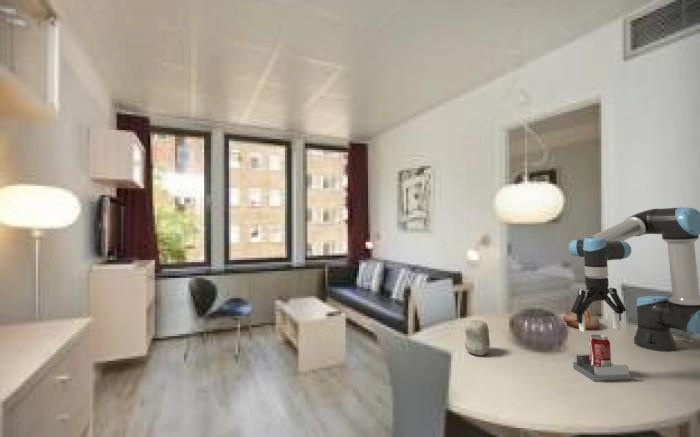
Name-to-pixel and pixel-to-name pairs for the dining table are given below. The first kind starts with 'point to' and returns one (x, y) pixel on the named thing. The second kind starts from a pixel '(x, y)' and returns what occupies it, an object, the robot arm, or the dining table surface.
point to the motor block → (600, 370)
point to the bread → (590, 320)
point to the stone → (477, 337)
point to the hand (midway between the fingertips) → (599, 330)
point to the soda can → (599, 350)
